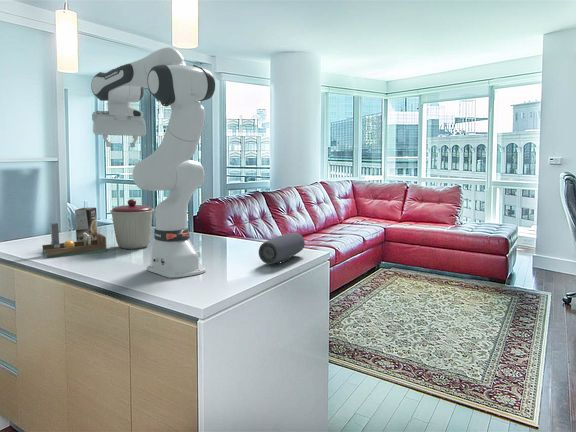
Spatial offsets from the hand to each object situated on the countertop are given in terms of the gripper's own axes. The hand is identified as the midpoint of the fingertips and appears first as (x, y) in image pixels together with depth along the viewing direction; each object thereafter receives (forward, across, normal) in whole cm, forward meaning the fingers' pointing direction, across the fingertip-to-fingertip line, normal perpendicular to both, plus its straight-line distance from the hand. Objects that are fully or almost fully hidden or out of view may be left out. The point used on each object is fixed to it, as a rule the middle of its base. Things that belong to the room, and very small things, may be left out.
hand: (120, 147), depth 178 cm
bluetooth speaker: (+43, +46, -50) cm, 80 cm away
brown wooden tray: (+44, -17, +11) cm, 48 cm away
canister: (+44, +6, +7) cm, 45 cm away
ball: (+40, -19, +11) cm, 46 cm away
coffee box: (+44, -9, +25) cm, 51 cm away
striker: (+42, -24, +11) cm, 50 cm away
